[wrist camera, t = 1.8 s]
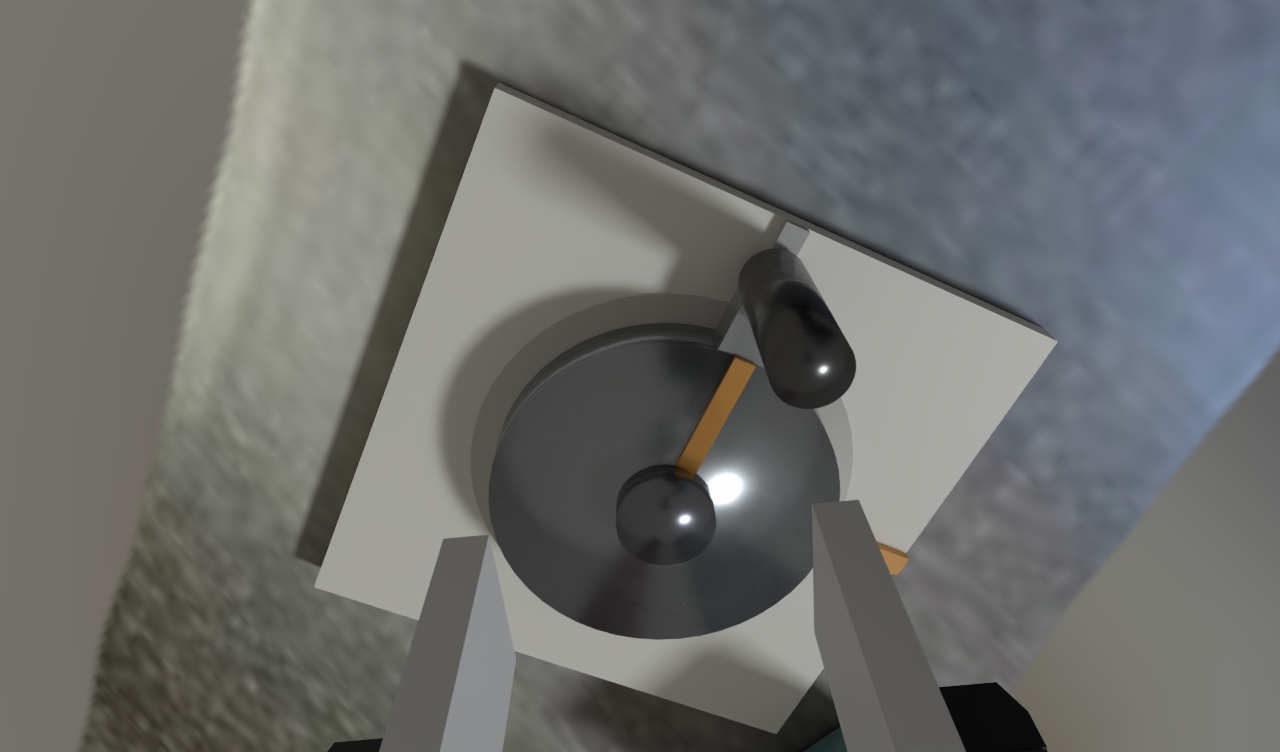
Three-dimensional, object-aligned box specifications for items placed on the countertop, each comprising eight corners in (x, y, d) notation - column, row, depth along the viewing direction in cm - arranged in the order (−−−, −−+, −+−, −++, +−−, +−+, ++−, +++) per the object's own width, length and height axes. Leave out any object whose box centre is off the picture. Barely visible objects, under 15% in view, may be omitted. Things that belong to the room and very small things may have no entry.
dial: (735, 642, 38) (759, 792, 31) (449, 546, 35) (409, 687, 29) (945, 317, 31) (1033, 418, 25) (613, 170, 29) (611, 238, 22)
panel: (499, 82, 29) (493, 89, 28) (1044, 328, 33) (1063, 345, 32) (323, 568, 38) (311, 593, 36) (772, 714, 42) (777, 741, 41)
